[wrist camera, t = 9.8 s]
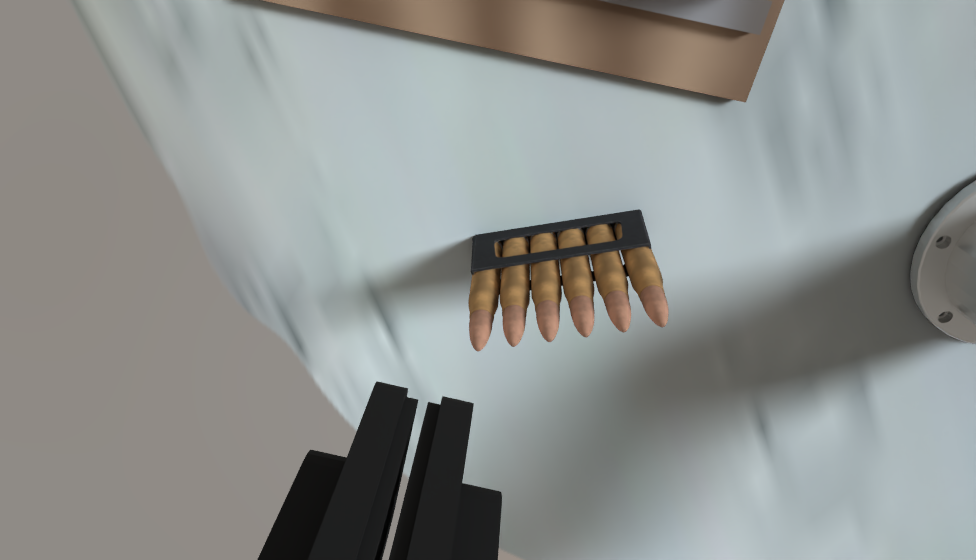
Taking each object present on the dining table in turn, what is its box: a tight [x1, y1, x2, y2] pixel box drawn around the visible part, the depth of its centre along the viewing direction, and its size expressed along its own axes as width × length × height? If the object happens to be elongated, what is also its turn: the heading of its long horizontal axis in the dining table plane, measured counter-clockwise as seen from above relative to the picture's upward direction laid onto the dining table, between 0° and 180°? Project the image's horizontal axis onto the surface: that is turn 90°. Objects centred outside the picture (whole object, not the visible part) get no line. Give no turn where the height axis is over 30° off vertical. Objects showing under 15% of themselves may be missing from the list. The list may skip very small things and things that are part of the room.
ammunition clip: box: [469, 210, 668, 351], centre depth 36 cm, size 11×2×12 cm, turn 101°
